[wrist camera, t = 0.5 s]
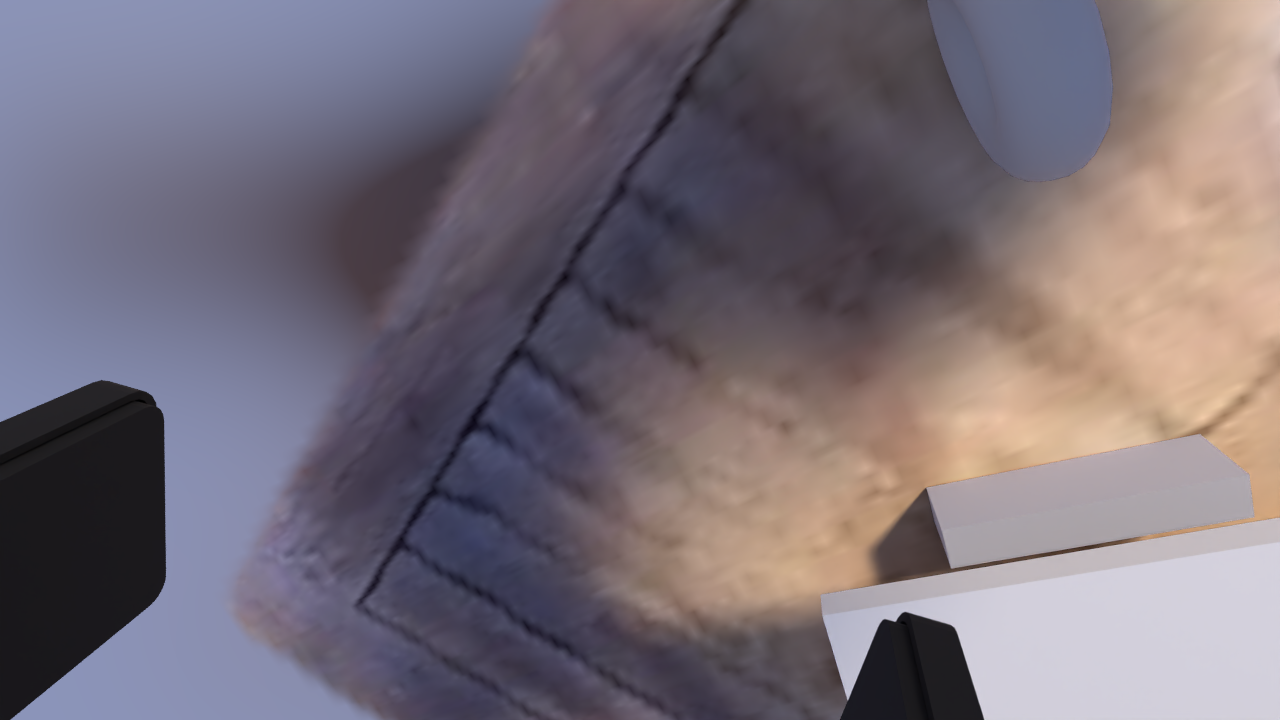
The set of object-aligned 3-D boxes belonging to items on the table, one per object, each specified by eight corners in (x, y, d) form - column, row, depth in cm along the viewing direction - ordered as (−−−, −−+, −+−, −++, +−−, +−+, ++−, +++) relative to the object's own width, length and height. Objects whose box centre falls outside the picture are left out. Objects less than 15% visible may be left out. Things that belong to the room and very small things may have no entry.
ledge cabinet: (1322, 345, 33) (1654, 500, 20) (1348, 635, 37) (1640, 915, 24) (809, 455, 39) (823, 630, 26) (879, 697, 43) (920, 951, 30)
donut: (892, -48, 31) (938, -107, 22) (979, -94, 30) (1067, -177, 21) (976, 182, 33) (1051, 218, 24) (1059, 147, 32) (1172, 169, 23)
